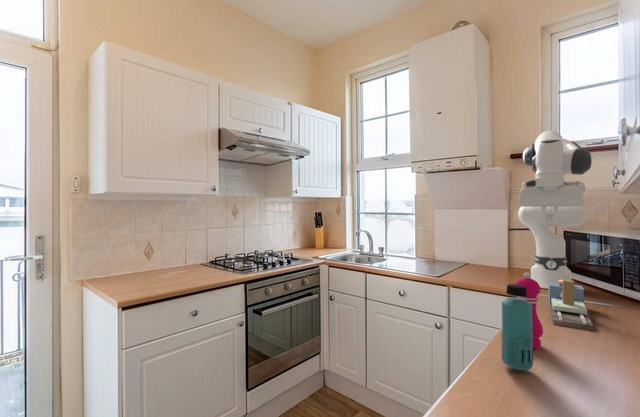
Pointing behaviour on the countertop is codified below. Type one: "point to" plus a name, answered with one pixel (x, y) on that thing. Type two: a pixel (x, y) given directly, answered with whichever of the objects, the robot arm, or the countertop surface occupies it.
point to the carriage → (568, 300)
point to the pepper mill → (532, 298)
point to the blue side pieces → (557, 292)
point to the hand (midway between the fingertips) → (549, 218)
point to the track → (571, 319)
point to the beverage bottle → (517, 329)
